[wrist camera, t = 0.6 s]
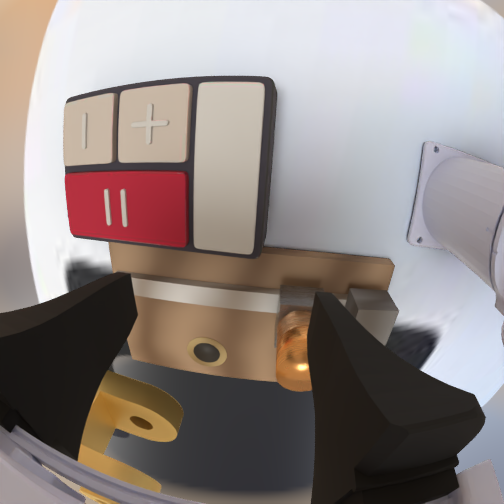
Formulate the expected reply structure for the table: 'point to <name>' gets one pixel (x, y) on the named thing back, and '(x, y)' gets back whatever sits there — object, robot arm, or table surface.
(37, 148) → the table surface
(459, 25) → the table surface
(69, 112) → the button panel
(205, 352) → the board
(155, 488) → the yellow clevis bracket
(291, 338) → the slider leg
